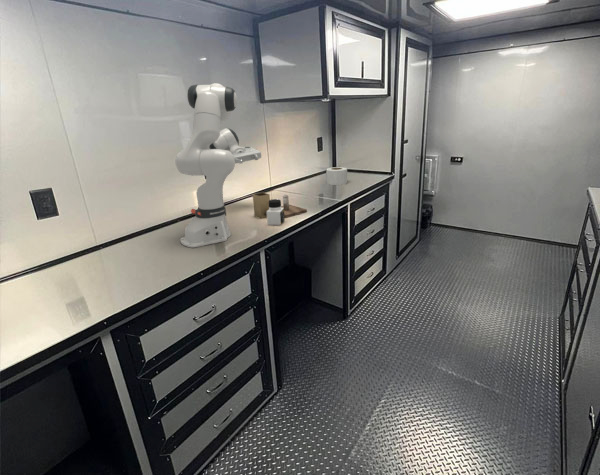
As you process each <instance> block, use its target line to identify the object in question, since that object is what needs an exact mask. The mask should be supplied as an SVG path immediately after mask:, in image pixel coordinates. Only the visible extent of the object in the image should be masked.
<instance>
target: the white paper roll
mask: <svg viewBox="0 0 600 475" xmlns="http://www.w3.org/2000/svg"><path fill="white" fill-rule="evenodd" d="M325 173H326V176H325V177H326V184H327V185H329V184H330V186H342V185H341V184H343V185H346V184H348V168H347V167H341V166H335V167H328V168H326V172H325Z"/></svg>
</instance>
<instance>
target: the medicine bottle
mask: <svg viewBox="0 0 600 475" xmlns="http://www.w3.org/2000/svg"><path fill="white" fill-rule="evenodd" d="M281 206H282V201H281V199H279V198H273V199H272V198H270V200H269V210H268V211H267V217H266V220H267V223H266V224H267V226H282V225H283V223H284V222H285V219H286V218H284V208H281Z"/></svg>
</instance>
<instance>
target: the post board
mask: <svg viewBox="0 0 600 475" xmlns="http://www.w3.org/2000/svg"><path fill="white" fill-rule="evenodd" d="M281 208H284V219H287V218H291V217H294V216H298V215H302V214H305V213H307V212H308V209H306V208H302V207H299V206H295V205H292V204H290V201H289V195H288V194H283V196H282V205H281Z"/></svg>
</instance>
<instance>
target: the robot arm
mask: <svg viewBox="0 0 600 475" xmlns="http://www.w3.org/2000/svg"><path fill="white" fill-rule="evenodd" d="M186 97H187V102H188V105H189V106H190V107H191V108H192V109H194V110H193V125H192V133H191V136H190V138H189V141H188V143H187V144H186V145H185V147H184V148H183V149H182V150H181V151H179V152H177V154H176V157H175V166H176V169H177V170H178V172H180V174H183V175H187V176H191V177H192V176H193V177H194V176H196V177H197V176H205V179H206V180H205V182H204V183H202V184H201V185H199V186H198V188H197V189H196V194H195V195H196V199H197V208H196V209H195V208H191V210H190V212H191V213H192V214H193V215H195V217H194V218H193V219H192V220H191V221H190V222H189V223H188V224H187V225H186V226H185V229H184V236H183V237H182V236H181V237H180V240H179V241H180V242H179V243H180V244H182V246H185V247H188V248H192V249H193V248H199V247H203V246H209V245H214V244H217V243H222V242H227V240H228V238H230V237H231V236H232V233H231V232H232V231H231V230H230V228H229V224H228V222H227V221H228V220H227V211H226V205H225V204H224V192H223V188H224V187H223V186H224V184H225V181H226V179H227V178H228V176H229V175H230V174H232V172H233V171H234V169H235V167H236V166H235V165H236V164H239V165H240V164H243V163H245V162H249V161H258V160H259V159H261V158H262V151H260V150H258V149H256V148H254V147H252V146H239V145H240V139H239V137H238V135H237V133H236V132H235V131H234V130H233V129H231V128H228V127H226V128H223V129H221V125H222V124H223V123H225V122H226V121H227V120H228V119H229V118H230V115H231V112H232V111H234V110H235V109H236V108H237V104H238V96H237V93H236V91H235V90H234V89H233V87H229V86H224V85H222V84H221V83H217V82H214V83H211V84H199V85H198V84H192V85H190V86H189V87H188V89H187V96H186Z"/></svg>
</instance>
